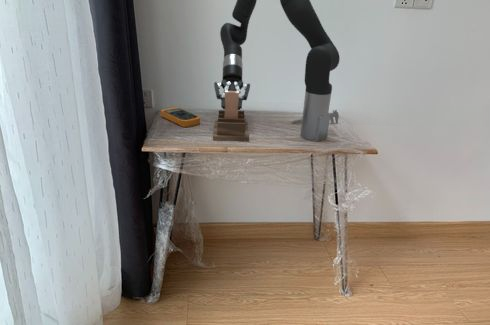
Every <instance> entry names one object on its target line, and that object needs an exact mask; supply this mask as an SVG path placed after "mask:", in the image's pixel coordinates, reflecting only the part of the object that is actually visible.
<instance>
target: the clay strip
mask: <svg viewBox="0 0 490 325" xmlns="http://www.w3.org/2000/svg"><path fill="white" fill-rule="evenodd" d="M238 103H239V91H225V109H224V110H225V116H224V118H237V119H238V111H239V110H238Z"/></svg>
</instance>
